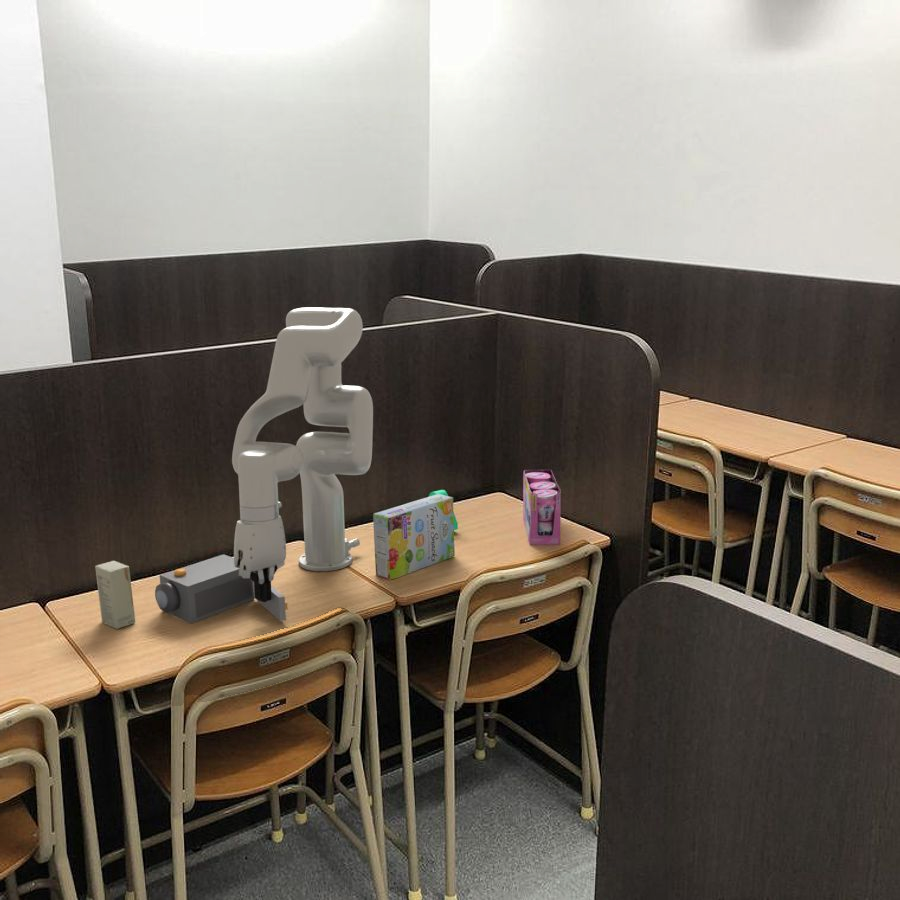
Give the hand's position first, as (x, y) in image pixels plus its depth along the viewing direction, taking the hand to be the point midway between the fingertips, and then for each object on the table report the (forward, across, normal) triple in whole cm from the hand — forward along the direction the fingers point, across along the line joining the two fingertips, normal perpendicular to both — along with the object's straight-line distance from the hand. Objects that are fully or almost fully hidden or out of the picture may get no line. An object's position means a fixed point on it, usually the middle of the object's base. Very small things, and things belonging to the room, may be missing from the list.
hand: (263, 599), depth 191 cm
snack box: (+4, -42, +3) cm, 43 cm away
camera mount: (+3, -65, -12) cm, 66 cm away
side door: (+3, -4, -2) cm, 6 cm away
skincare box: (+5, +20, -22) cm, 30 cm away
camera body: (+4, +4, -15) cm, 16 cm away
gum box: (+2, -82, +10) cm, 83 cm away
